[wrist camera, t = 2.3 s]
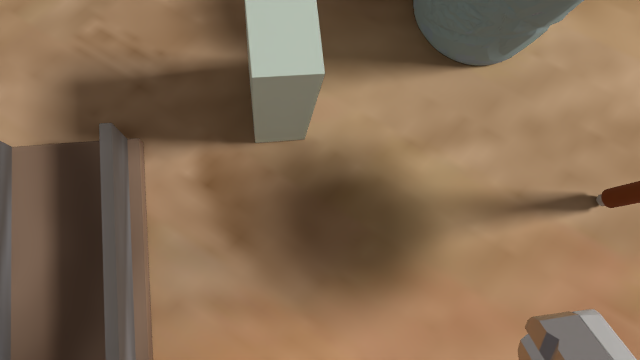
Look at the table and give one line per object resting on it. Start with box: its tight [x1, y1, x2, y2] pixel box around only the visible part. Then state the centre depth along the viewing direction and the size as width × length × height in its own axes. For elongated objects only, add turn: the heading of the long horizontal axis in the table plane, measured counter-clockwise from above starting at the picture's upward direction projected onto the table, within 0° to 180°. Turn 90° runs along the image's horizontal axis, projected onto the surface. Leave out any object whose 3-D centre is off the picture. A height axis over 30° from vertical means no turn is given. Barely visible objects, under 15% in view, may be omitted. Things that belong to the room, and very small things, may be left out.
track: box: [0, 123, 153, 360], centre depth 25 cm, size 8×16×4 cm, turn 6°
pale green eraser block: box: [244, 0, 325, 143], centre depth 26 cm, size 3×5×10 cm, turn 6°
